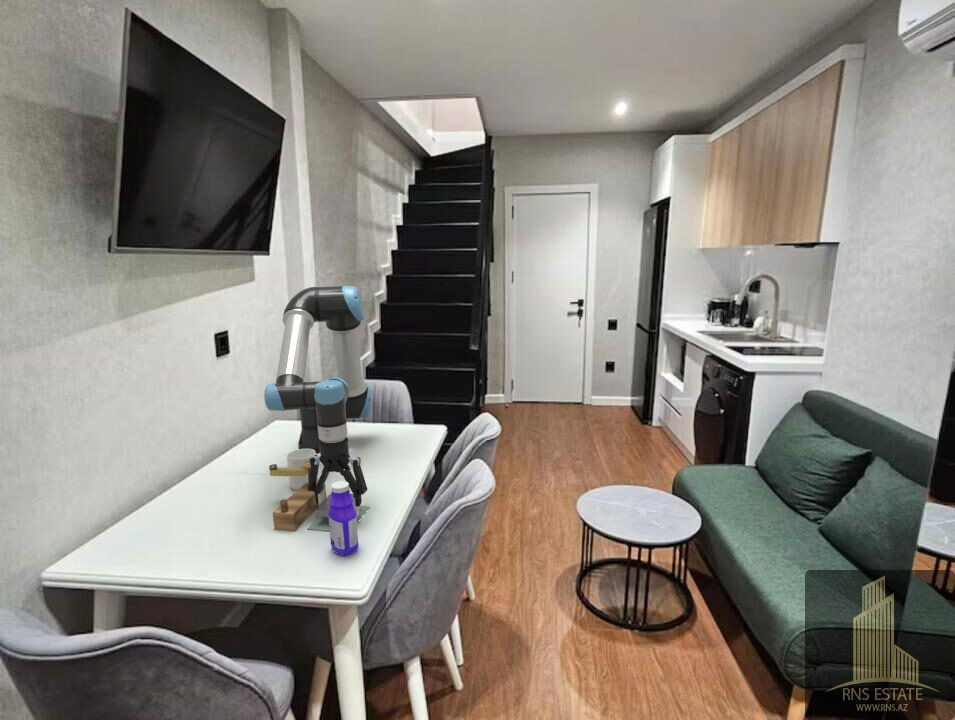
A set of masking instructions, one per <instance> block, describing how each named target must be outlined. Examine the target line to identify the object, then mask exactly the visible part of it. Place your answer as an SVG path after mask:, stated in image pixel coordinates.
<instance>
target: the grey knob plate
mask: <svg viewBox="0 0 955 720" xmlns="http://www.w3.org/2000/svg"><path fill="white" fill-rule="evenodd" d="M350 495H351V496H352V495H353V493H350ZM331 496H332V492H330V493H329V494H328V496H326V499H325V500H324V501H323V502H322V503H321V504H320V505H319V506H318V507H317V508H316V509H315V511H314V517H317V518H318V517H328V518H329V515H328V512H329V508H330V504H329V501H330V499H331ZM362 501H363V500H362V498H361V502H362Z"/></svg>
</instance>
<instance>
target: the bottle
mask: <svg viewBox="0 0 955 720" xmlns="http://www.w3.org/2000/svg"><path fill="white" fill-rule="evenodd" d="M331 493H332V496H331V499H330V501H329V504H330V508H329V512H328V515H329V527H330V532H329V536H330V537H329V539H330V546H331V548H332V550H333V552H335V553H336V554H338V555H341V556H348V555H350V554H352V553H355V552H356V551H357V550H358V548H359V534H358V533H359V532H358V523H357V517H356V510H355V507H354V505H353V504H352V503H353V497H352V496H351V495H350V494H351V490H350V488H349V483H348V482H346V481H345V480H338V481H336V482H334V483H332V484H331Z"/></svg>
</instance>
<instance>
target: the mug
mask: <svg viewBox="0 0 955 720" xmlns="http://www.w3.org/2000/svg"><path fill="white" fill-rule="evenodd" d="M314 455H317V453H316V452H315V450H313V449H299V448H298V449H295V450H294V449H293V450H292V451H289V452H288V453H287V454H286V461H287V462H286V463H287V468H302V465H303V464H304V463H305V462H306V461H309V460H310V459H311V458H312V457H313V456H314ZM319 467H321V468H322V469H323V468H324V465H323V464H322V463H321V462H320V463H319ZM319 478H320V476H319V475H318V476H317V483H318V481H319ZM288 482H289V483H288V484H289V487H290V489H292V490H294V491H297V490H299V489H300V488H301V487H302V486H303V485H304V484H306V483H309V481H308V474H307V475H306V476H288Z"/></svg>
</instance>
